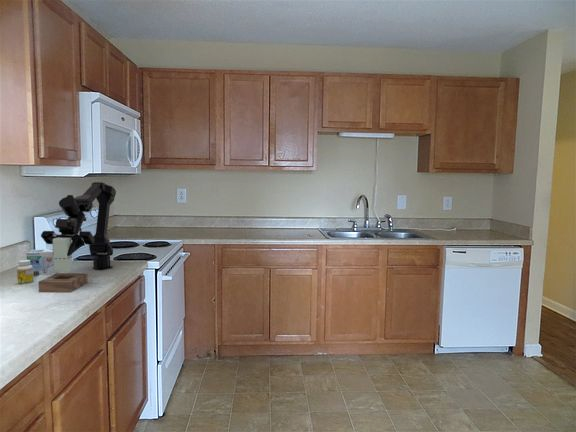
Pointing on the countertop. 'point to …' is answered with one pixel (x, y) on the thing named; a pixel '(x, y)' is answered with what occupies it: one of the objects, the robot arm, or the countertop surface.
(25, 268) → the supplement bottle
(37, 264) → the light bulb box
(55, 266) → the stub
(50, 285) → the brown stepped stand
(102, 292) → the countertop surface
